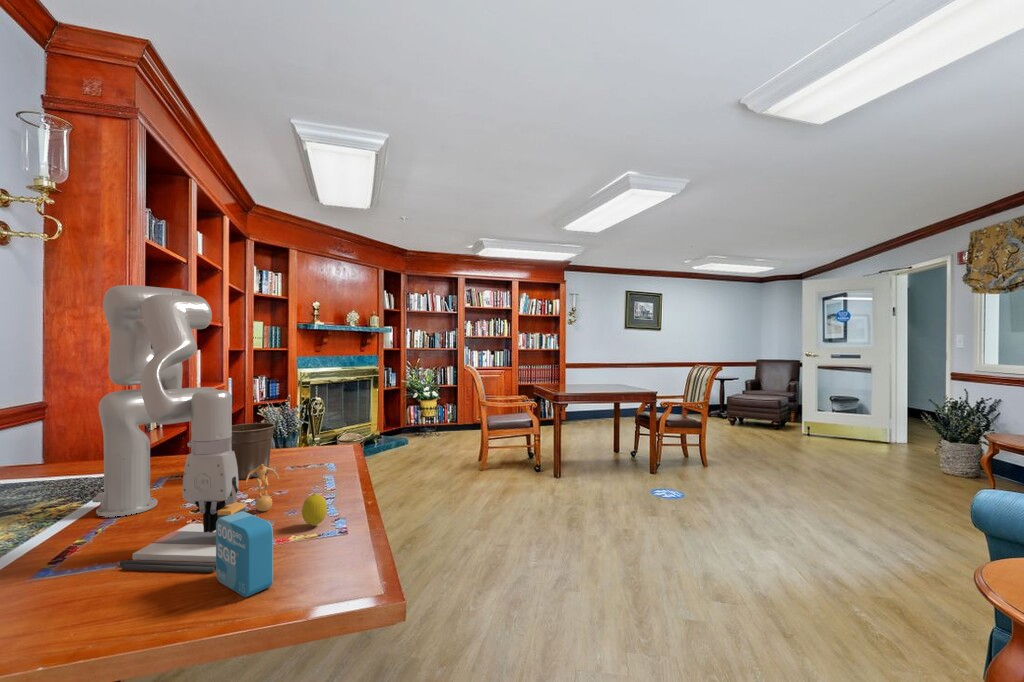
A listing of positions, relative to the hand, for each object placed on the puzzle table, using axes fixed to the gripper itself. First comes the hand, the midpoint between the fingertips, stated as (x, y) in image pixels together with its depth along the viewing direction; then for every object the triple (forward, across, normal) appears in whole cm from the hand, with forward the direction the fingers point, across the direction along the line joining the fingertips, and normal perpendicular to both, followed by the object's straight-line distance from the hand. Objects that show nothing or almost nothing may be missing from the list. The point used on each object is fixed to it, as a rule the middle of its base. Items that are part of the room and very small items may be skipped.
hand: (212, 529), depth 104 cm
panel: (+3, -1, 0) cm, 3 cm away
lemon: (+3, +18, +11) cm, 21 cm away
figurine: (+3, -1, +21) cm, 21 cm away
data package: (+4, +18, -16) cm, 24 cm away
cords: (+3, -1, -10) cm, 11 cm away
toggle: (+2, +4, 0) cm, 5 cm away
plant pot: (+3, -25, +52) cm, 58 cm away
